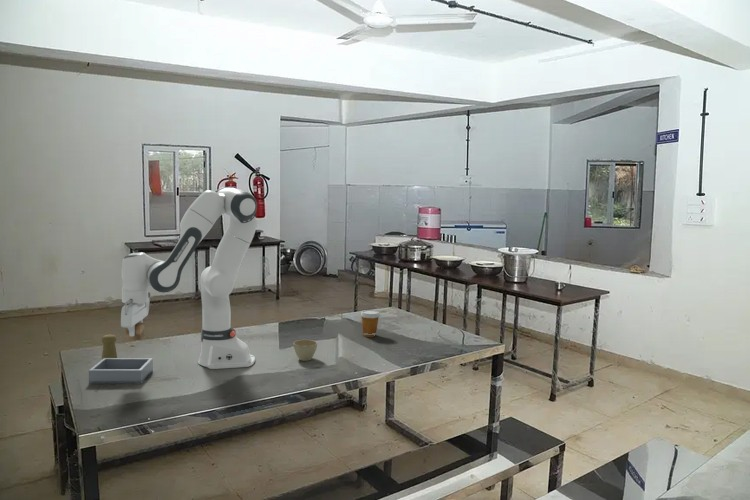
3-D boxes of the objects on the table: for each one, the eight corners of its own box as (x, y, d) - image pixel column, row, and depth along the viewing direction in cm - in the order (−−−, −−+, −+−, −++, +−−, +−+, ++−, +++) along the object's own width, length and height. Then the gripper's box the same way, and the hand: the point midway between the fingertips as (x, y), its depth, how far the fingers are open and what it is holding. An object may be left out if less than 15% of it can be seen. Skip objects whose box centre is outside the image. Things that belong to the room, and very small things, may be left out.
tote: (152, 370, 212) (152, 358, 212) (141, 383, 198) (141, 370, 198) (104, 370, 210) (103, 358, 210) (89, 383, 197) (88, 370, 196)
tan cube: (144, 336, 206) (144, 323, 205) (140, 339, 201) (139, 326, 200) (130, 335, 205) (130, 322, 205) (125, 339, 200) (125, 326, 200)
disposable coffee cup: (378, 338, 269) (379, 314, 268) (359, 337, 269) (360, 313, 268) (379, 333, 278) (379, 310, 277) (360, 332, 279) (361, 309, 277)
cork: (111, 364, 218) (110, 337, 216) (97, 363, 219) (97, 336, 217) (121, 360, 223) (120, 333, 222) (108, 358, 225) (107, 332, 223)
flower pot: (321, 357, 236) (321, 341, 235) (308, 364, 227) (309, 347, 226) (301, 354, 240) (301, 338, 239) (288, 360, 231) (288, 343, 230)
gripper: (134, 302, 192) (135, 341, 193) (152, 291, 212) (152, 326, 213) (115, 302, 191) (116, 341, 192) (135, 291, 211) (135, 326, 213)
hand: (135, 333), depth 203 cm, fingers closed on tan cube, 5 cm apart
